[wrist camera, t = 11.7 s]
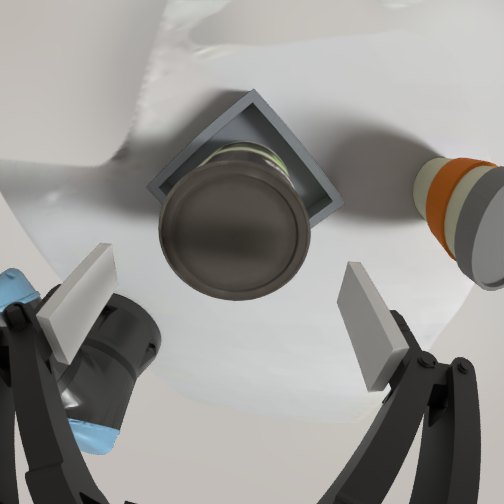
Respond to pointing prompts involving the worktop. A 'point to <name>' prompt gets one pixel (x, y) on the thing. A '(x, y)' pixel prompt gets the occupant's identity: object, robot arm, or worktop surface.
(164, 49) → the worktop surface
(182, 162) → the housing tray
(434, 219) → the reusable coffee cup
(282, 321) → the worktop surface
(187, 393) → the worktop surface
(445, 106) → the worktop surface
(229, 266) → the coffee can
